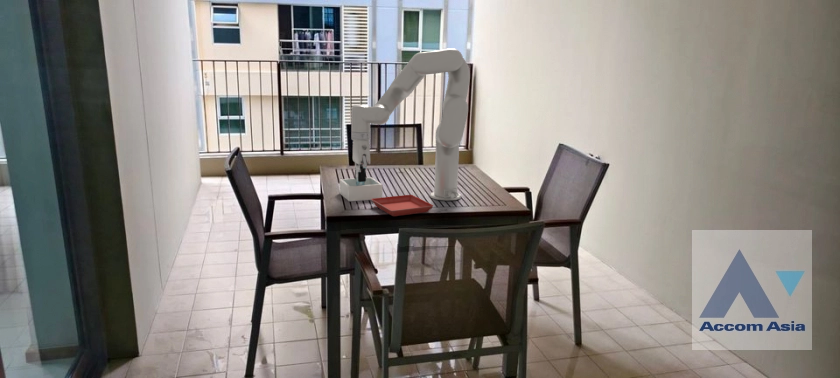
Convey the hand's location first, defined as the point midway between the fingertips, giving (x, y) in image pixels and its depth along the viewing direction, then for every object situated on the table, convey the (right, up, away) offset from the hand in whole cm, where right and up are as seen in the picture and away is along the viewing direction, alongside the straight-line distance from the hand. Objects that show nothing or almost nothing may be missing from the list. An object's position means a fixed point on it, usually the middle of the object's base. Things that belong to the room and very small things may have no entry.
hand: (360, 179), depth 234 cm
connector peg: (0, -2, 0) cm, 2 cm away
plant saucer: (+17, -12, -16) cm, 27 cm away
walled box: (0, -7, +2) cm, 7 cm away
